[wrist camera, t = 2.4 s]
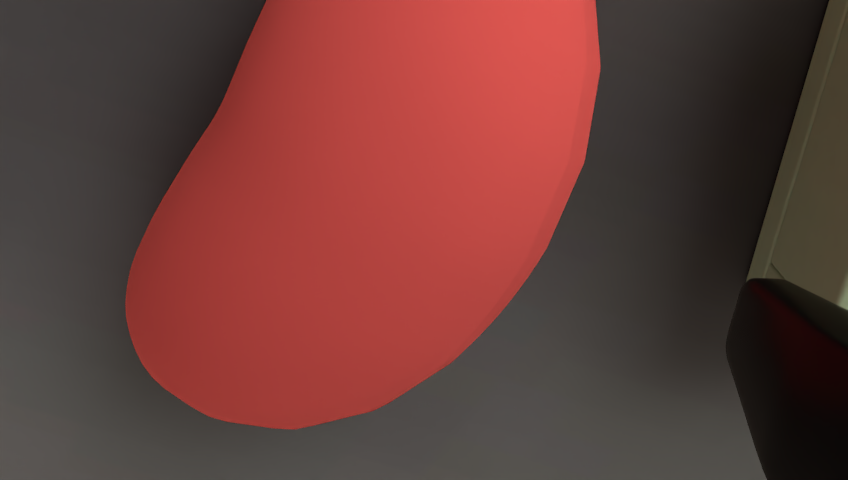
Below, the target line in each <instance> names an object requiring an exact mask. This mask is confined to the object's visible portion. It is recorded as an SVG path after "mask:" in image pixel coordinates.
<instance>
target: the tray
mask: <svg viewBox="0 0 848 480" xmlns="http://www.w3.org/2000/svg"><path fill="white" fill-rule="evenodd" d="M752 278H774V279H784V280H787V281H789V282H791V283H793V284H795V285H797V286H799V287H801V288H804V289H806V290H808V291H810V292H812V293H814V294H816V295H818V296H820V297H822V298H824V299H826V300H828V301H830V302H832V303H834V304H836V305H838V306H840V307H842V308H845V309H847V310H848V0H829V3H828V6H827V9H826V13H825V16H824V19H823V23H822V26H821V30H820V33H819V36H818V40H817V43H816V47H815V50H814V53H813V57H812V60H811V63H810V67H809V70H808V74H807V77H806V80H805V84H804V87H803V90H802V94H801V97H800V101H799V104H798V107H797V111H796V114H795V118H794V121H793V124H792V128H791V131H790V134H789V138H788V141H787V145H786V148H785V151H784V155H783V158H782V161H781V165H780V168H779V172H778V175H777V178H776V182H775V185H774V189H773V192H772V195H771V199H770V202H769V205H768V209H767V212H766V216H765V219H764V222H763V226H762V229H761V232H760V236H759V239H758V243H757V246H756V249H755V253H754V256H753V260H752V263H751V266H750V270H749V273H748V276H747V280H746V281H748V280H749V279H752Z"/></svg>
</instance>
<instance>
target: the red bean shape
mask: <svg viewBox="0 0 848 480" xmlns="http://www.w3.org/2000/svg"><path fill="white" fill-rule="evenodd" d="M600 69H601V65H600V52H599V39H598V27H597V14H596V1H595V0H266V2H265V4H264V7H263V9H262V11H261V13H260V15H259V17H258V20H257V22H256V24H255V26H254V28H253V30H252V33H251V35H250V37H249V39H248V41H247V44H246V46H245V49H244V51H243V54H242V56H241V58H240V61H239V63H238V66H237V68H236V70H235V73H234V75H233V78H232V80H231V82H230V85H229V87H228V90H227V92H226V95H225V97H224V99H223V101H222V103H221V105H220V107H219V109H218V111H217V113H216V114H215V116H214V118H213V119H212V121H211V123H210V124H209V126H208V127H207V129H206V130H205V132H204V133H203V135H202V136H201V138H200V139H199V141H198V142H197V144H196V145H195V147H194V148H193V150H192V152H191V153H190V155H189V156H188V158H187V159H186V161H185V163H184V164H183V166H182V168H181V169H180V171H179V173H178V174H177V176H176V177H175V179H174V181H173V182H172V184H171V186H170V187H169V189H168V191H167V192H166V194H165V195H164V197H163V199H162V201H161V202H160V204H159V206H158V208H157V210H156V212H155V213H154V215H153V217H152V219H151V221H150V223H149V225H148V228H147V230H146V232H145V234H144V236H143V238H142V241H141V243H140V245H139V247H138V249H137V251H136V254H135V257H134V260H133V263H132V266H131V269H130V273H129V279H128V284H127V290H126V302H125V306H126V320H127V324H128V329H129V333H130V336H131V339H132V342H133V346H134V348H135V350H136V352H137V354H138V356H139V358H140V361H141V363H142V364H143V366H144V367H145V368H146V370H147V371H148V372H149V374H150V375H151V376H152V378H153V379H154V380H156V381H157V382H158V383H159V384H160V385H161V386H162V387H163V388H164V389H166V390H167V391H169V392H170V393H172V394H173V395H175V396H176V397H178V398H179V399H180V400H182V401H183V402H185V403H186V404H188V405H189V406H191V407H192V408H194V409H196V410H198V411H200V412H202V413H203V414H205V415H207V416H209V417H212V418H216V419H219V420H222V421H226V422H232V423H239V424H246V425H253V426H260V427H267V428H274V429H299V428H304V427H309V426H314V425H318V424H322V423H326V422H330V421H334V420H338V419H342V418H346V417H350V416H354V415H358V414H363V413H367V412H371V411H374V410H376V409H378V408H380V407H382V406H384V405H386V404H388V403H390V402H391V401H393V400H394V399H396V398H398V397H399V396H401V395H402V394H404V393H405V392H407V391H408V390H410V389H411V388H413V387H415V386H416V385H418V384H419V383H421V382H422V381H424V380H425V379H427V378H429V377H430V376H432V375H433V374H435V373H436V372H438V371H439V370H441V369H442V368H444V367H446V366H447V365H449V364H450V363H451V362H453V361H454V360H455V359H456V358H457V357H458V356H459V355H460V354H461V353H462V352H463V351H464V350H465V349H466V348H467V347H468V346H469V345H470V344H471V343H473V342H474V341H475V340H476V339H477V338H478V337H479V336H480V335H481V334H482V333H483V332H484V331H485V329H486V328H487V327H488V326H489V325H490V324H491V323H492V322H493V321H494V320H495V319H496V317H497V316H498V315H499V314H500V313H501V312H502V310H503V309H504V308H505V307H506V306H507V304H508V303H509V302H510V301H511V299H512V298H513V297H514V296H515V294H516V293H517V292H518V290H519V289H520V288H521V286H522V285H523V283H524V282H525V281H526V279H527V278H528V277H529V275H530V274H531V272H532V271H533V269H534V268H535V266H536V265H537V263H538V262H539V260H540V258H541V257H542V255H543V253H544V252H545V250H546V249H547V247H548V245H549V242H550V240H551V238H552V235H553V233H554V231H555V228H556V226H557V224H558V222H559V219H560V217H561V215H562V212H563V210H564V208H565V206H566V203H567V201H568V199H569V196H570V194H571V192H572V190H573V187H574V185H575V183H576V180H577V178H578V176H579V173H580V171H581V169H582V167H583V164H584V162H585V157H586V151H587V146H588V140H589V134H590V128H591V122H592V116H593V110H594V104H595V99H596V93H597V87H598V81H599V75H600Z"/></svg>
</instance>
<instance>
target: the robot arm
mask: <svg viewBox="0 0 848 480" xmlns="http://www.w3.org/2000/svg"><path fill="white" fill-rule="evenodd" d="M726 354H727V359H728V362H729V366H730V369H731V372H732V375H733V378H734V381H735V385H736V388H737V391H738V394H739V397H740V401H741V404H742V407H743V410H744V413H745V416H746V420H747V423H748V426H749V429H750V432H751V435H752V439H753V442H754V445H755V448H756V451H757V454H758V457H759V460H760V463H761V465H762V468H763V471H764V473H765V476H766V478H767V480H848V310H847V309H845V308H842V307H840V306H838V305H836V304H834V303H832V302H830V301H828V300H826V299H824V298H822V297H820V296H818V295H816V294H814V293H812V292H810V291H808V290H806V289H804V288H801V287H799V286H797V285H795V284H793V283H791V282H789V281H787V280H784V279H774V278H752V279H749V280H748V281H746V282H745V283H744V285H743V286H742V288H741V291H740V294H739V297H738V300H737V304H736V307H735V311H734V314H733V317H732V321H731V324H730V328H729V331H728V335H727V339H726Z"/></svg>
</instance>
